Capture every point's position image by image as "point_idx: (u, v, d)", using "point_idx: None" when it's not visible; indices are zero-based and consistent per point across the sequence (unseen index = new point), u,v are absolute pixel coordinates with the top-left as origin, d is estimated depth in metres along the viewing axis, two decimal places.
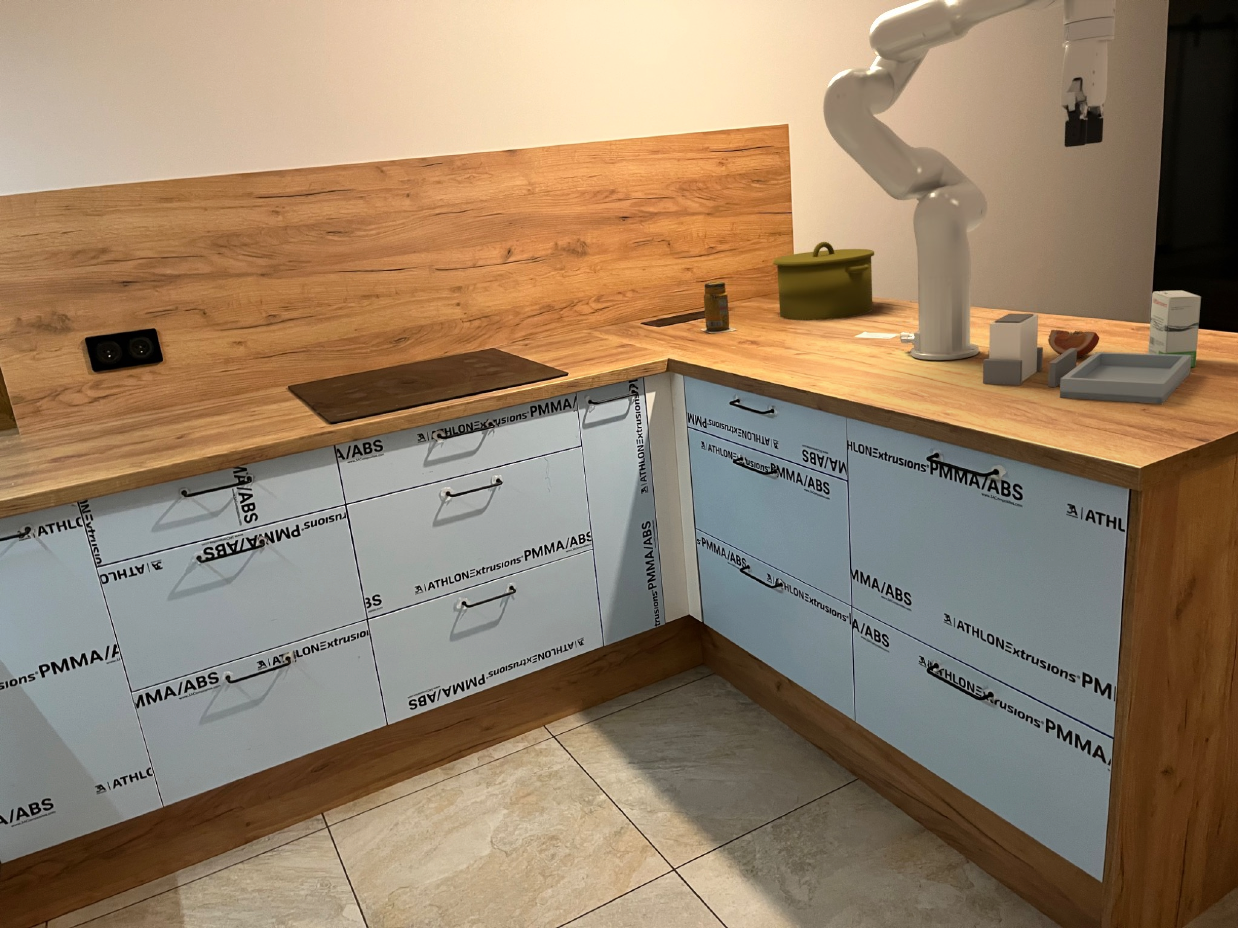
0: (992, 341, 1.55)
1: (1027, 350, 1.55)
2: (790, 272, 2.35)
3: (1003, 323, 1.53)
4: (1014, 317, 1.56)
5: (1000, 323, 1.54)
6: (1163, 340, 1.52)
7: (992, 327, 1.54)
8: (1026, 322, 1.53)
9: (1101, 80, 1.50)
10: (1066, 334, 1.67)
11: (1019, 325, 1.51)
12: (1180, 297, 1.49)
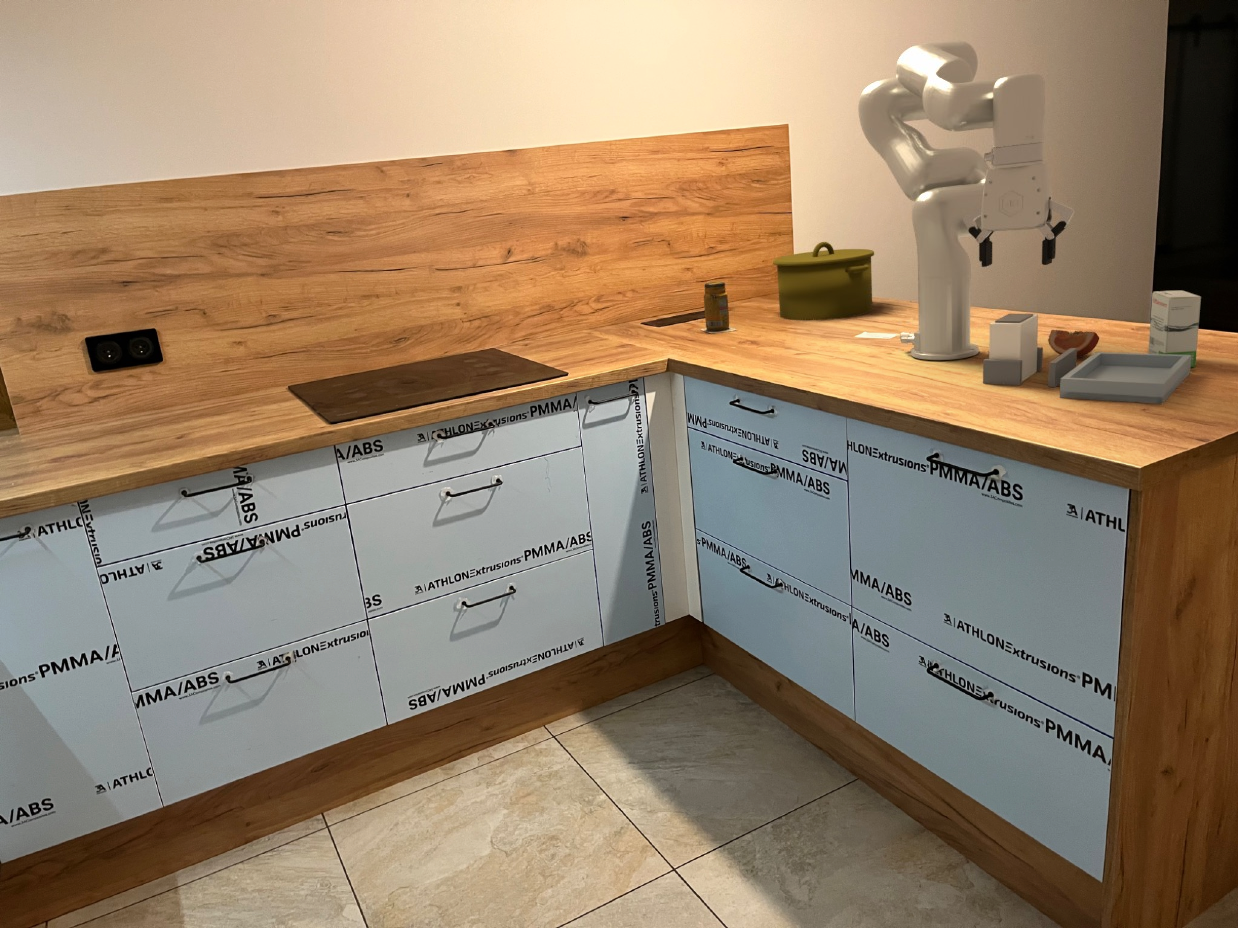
0: (992, 341, 1.55)
1: (1027, 350, 1.55)
2: (790, 272, 2.35)
3: (1003, 323, 1.53)
4: (1014, 317, 1.56)
5: (1000, 323, 1.54)
6: (1163, 340, 1.52)
7: (992, 327, 1.54)
8: (1026, 322, 1.53)
9: None
10: (1066, 334, 1.67)
11: (1019, 325, 1.51)
12: (1180, 297, 1.49)
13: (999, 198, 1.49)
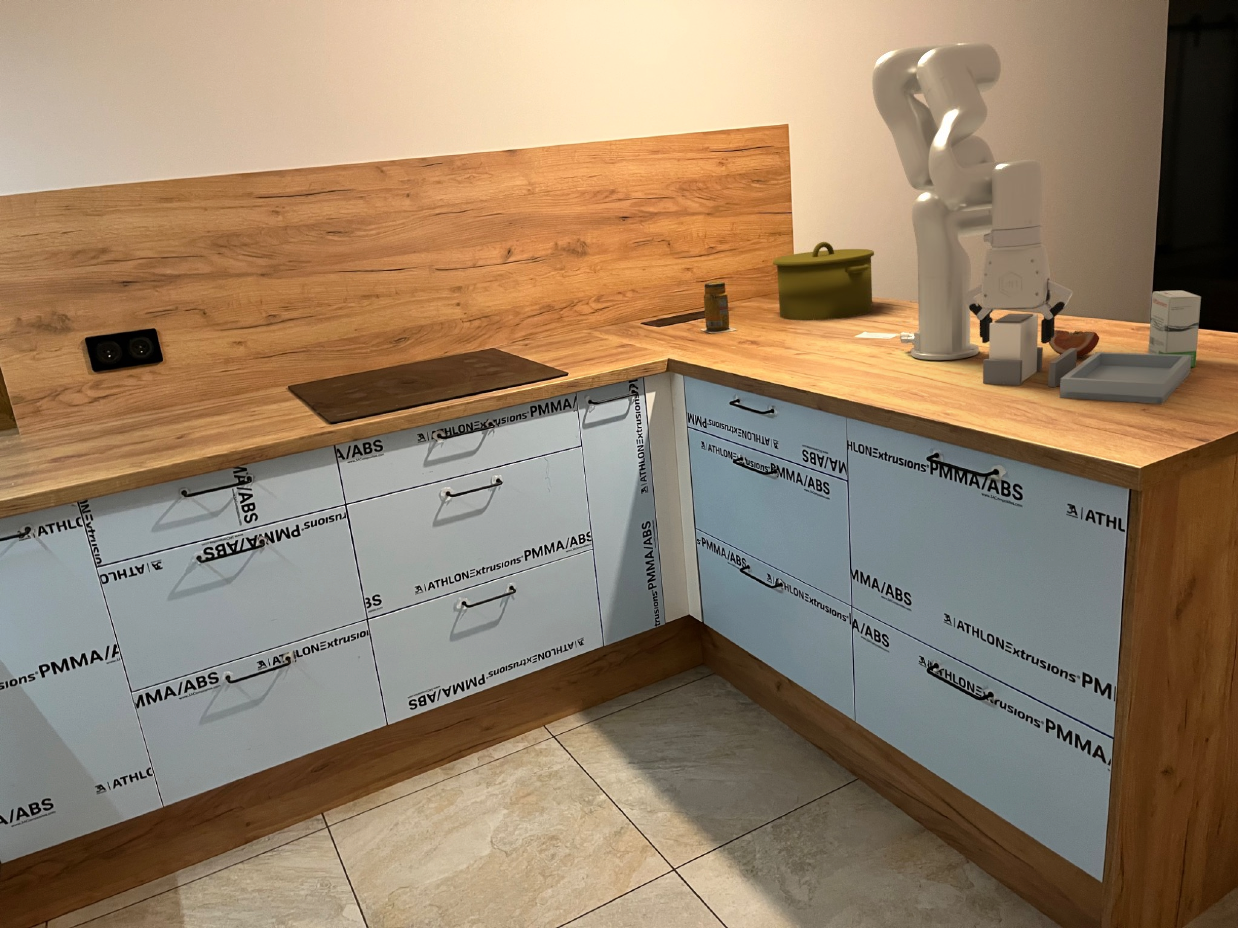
0: (992, 341, 1.55)
1: (1027, 350, 1.55)
2: (790, 272, 2.35)
3: (1003, 323, 1.53)
4: (1014, 317, 1.56)
5: (1000, 323, 1.54)
6: (1163, 340, 1.52)
7: (992, 327, 1.54)
8: (1026, 322, 1.53)
9: None
10: (1066, 334, 1.67)
11: (1019, 325, 1.51)
12: (1180, 297, 1.49)
13: (999, 278, 1.53)
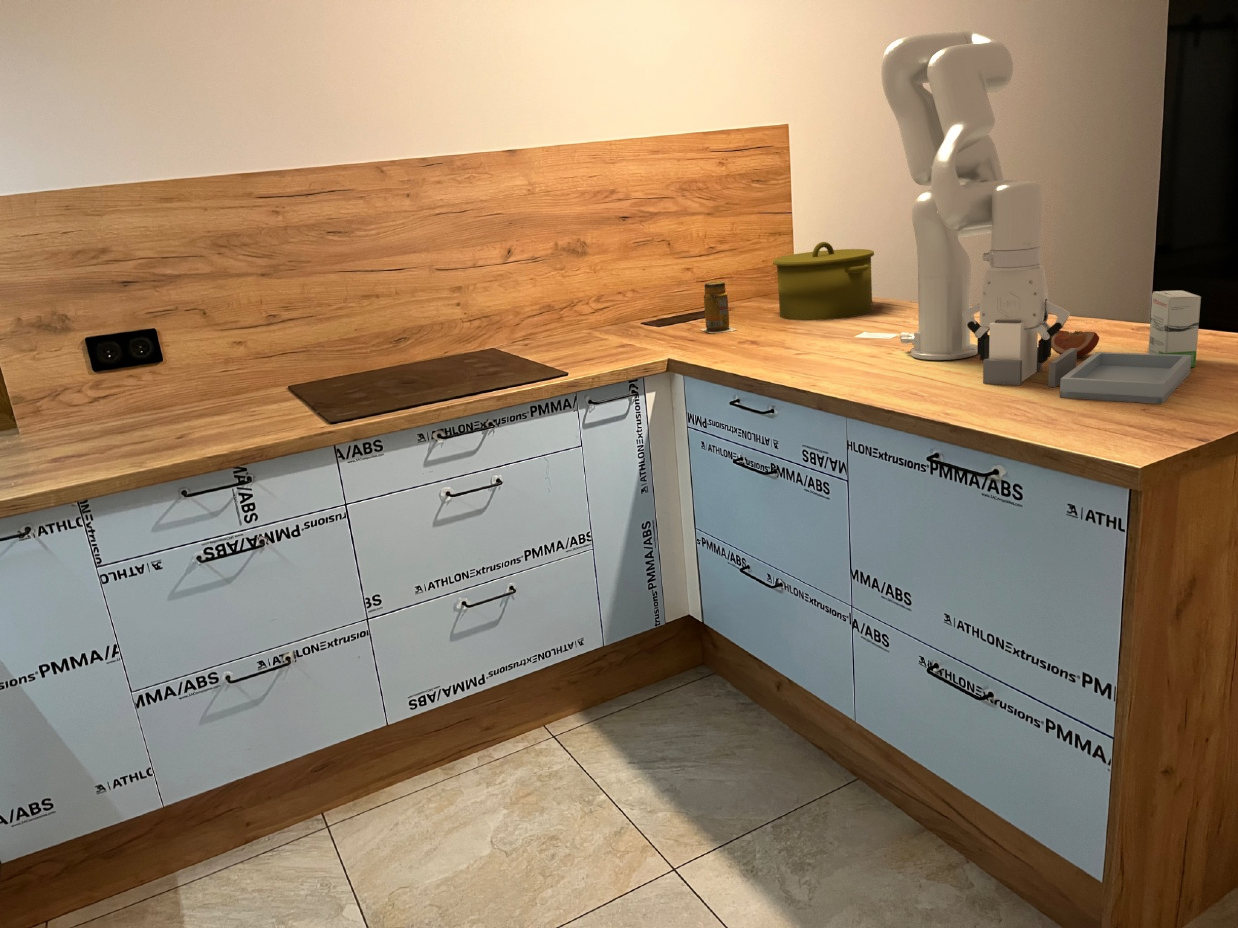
0: (992, 341, 1.55)
1: (1027, 350, 1.55)
2: (790, 272, 2.35)
3: (1003, 323, 1.53)
4: None
5: (1000, 323, 1.54)
6: (1163, 340, 1.52)
7: (992, 327, 1.54)
8: None
9: None
10: (1066, 334, 1.67)
11: (1019, 325, 1.51)
12: (1180, 297, 1.49)
13: (997, 298, 1.54)
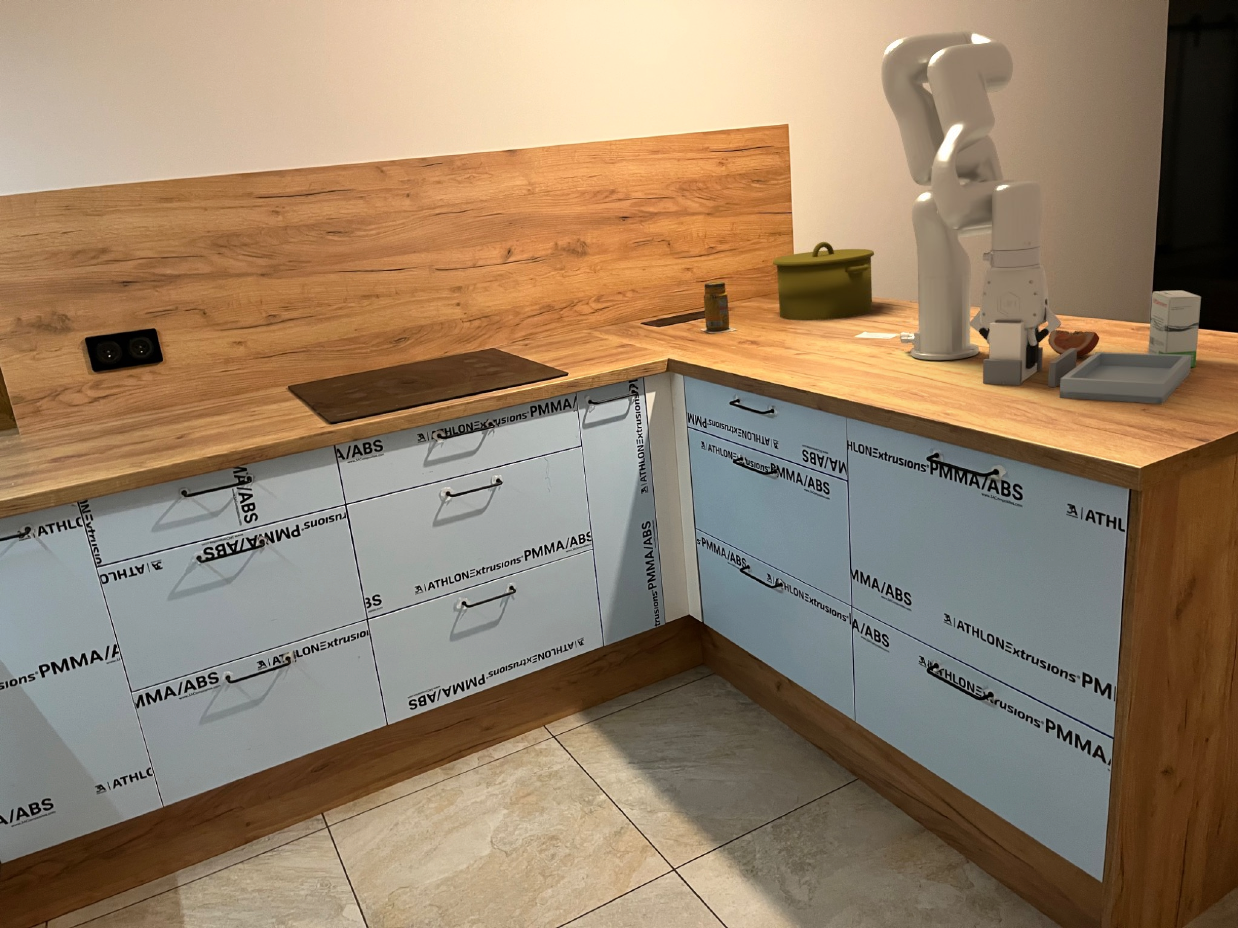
0: (992, 341, 1.55)
1: None
2: (790, 272, 2.35)
3: (1003, 323, 1.53)
4: None
5: (1000, 323, 1.53)
6: (1163, 340, 1.52)
7: (992, 327, 1.54)
8: None
9: None
10: (1066, 334, 1.67)
11: (1019, 325, 1.51)
12: (1180, 297, 1.49)
13: (997, 298, 1.54)
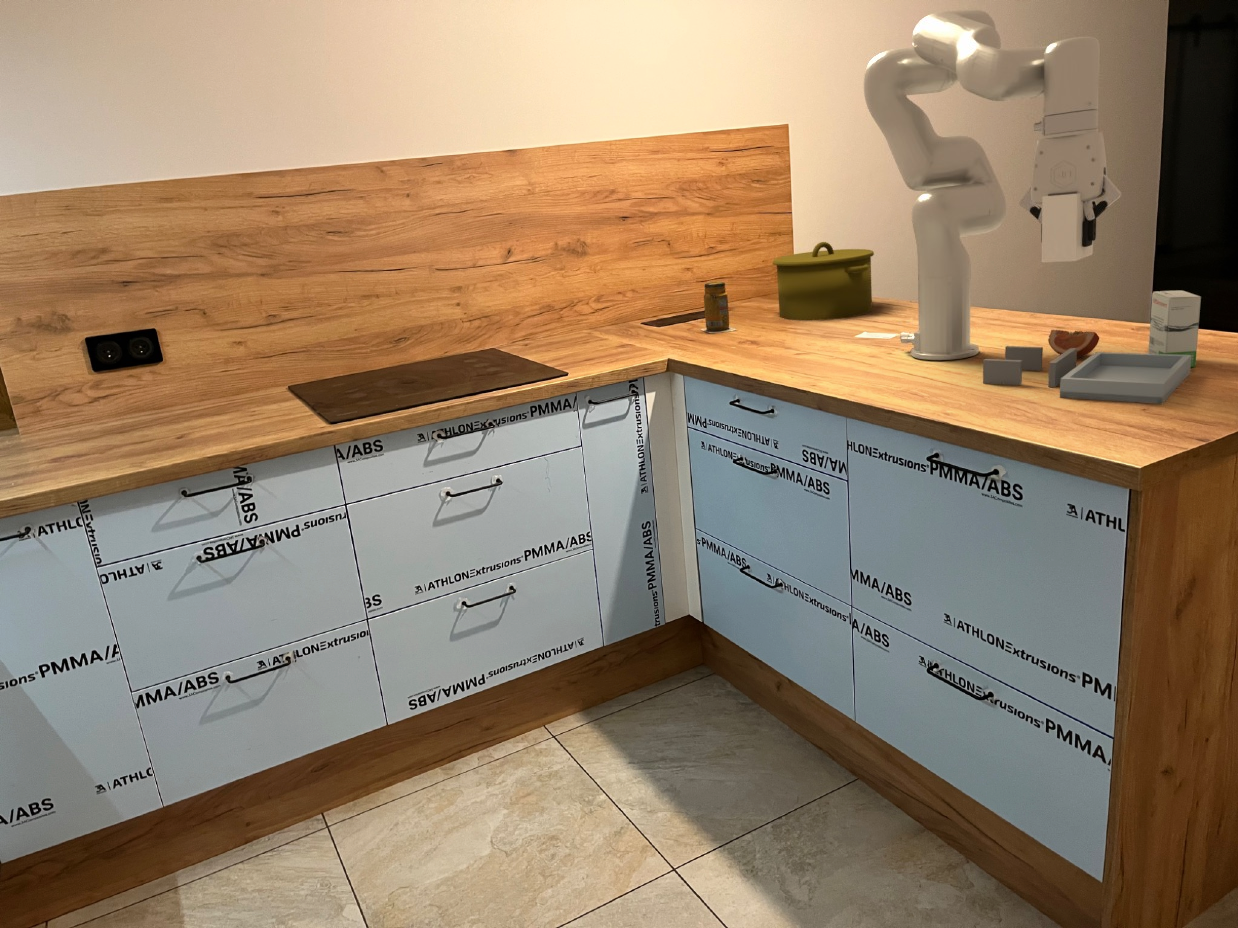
0: (1045, 216, 1.43)
1: None
2: (789, 272, 2.35)
3: (1057, 195, 1.41)
4: None
5: (1054, 195, 1.42)
6: (1163, 340, 1.52)
7: (1045, 200, 1.42)
8: None
9: None
10: (1066, 334, 1.67)
11: (1075, 195, 1.39)
12: (1180, 297, 1.49)
13: (1050, 169, 1.42)
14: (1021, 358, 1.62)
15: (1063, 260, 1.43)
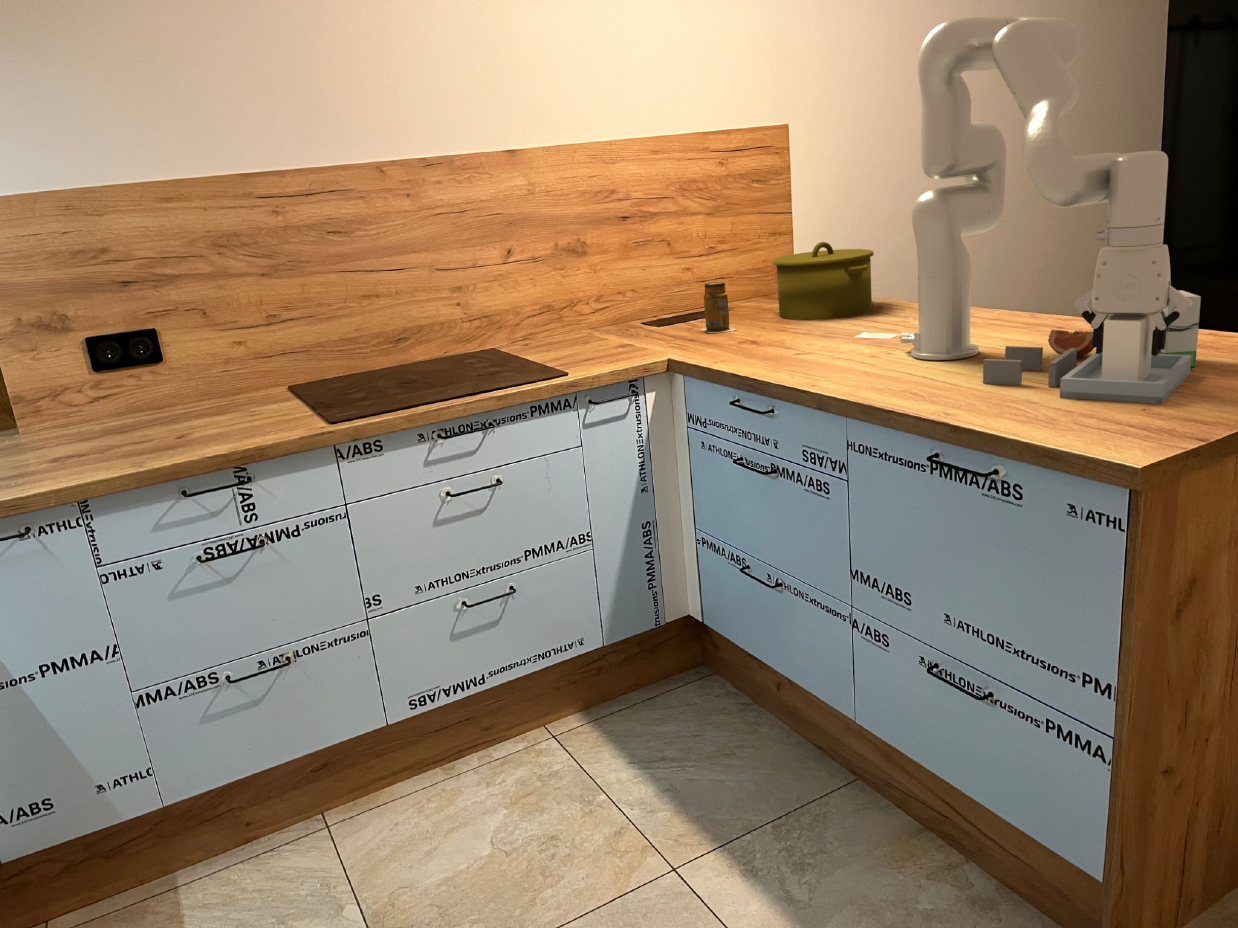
0: (1106, 340, 1.41)
1: (1144, 350, 1.42)
2: (789, 272, 2.35)
3: (1120, 320, 1.40)
4: None
5: (1116, 320, 1.40)
6: None
7: (1107, 325, 1.41)
8: (1145, 319, 1.40)
9: None
10: (1066, 334, 1.67)
11: (1139, 323, 1.38)
12: None
13: (1113, 280, 1.40)
14: (1021, 358, 1.62)
15: None
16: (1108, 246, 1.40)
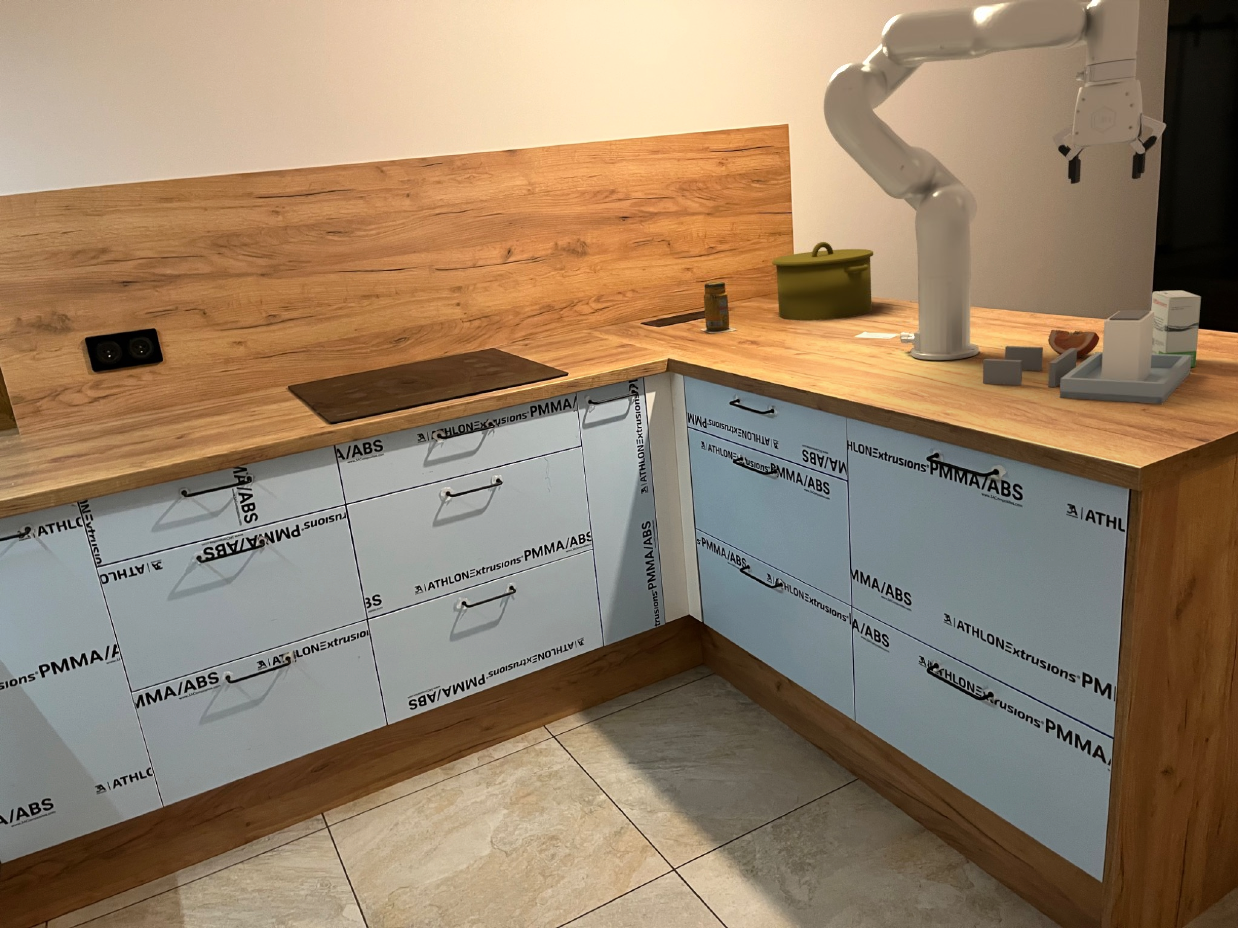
0: (1106, 340, 1.41)
1: (1144, 350, 1.42)
2: (789, 272, 2.35)
3: (1120, 320, 1.40)
4: (1130, 314, 1.42)
5: (1116, 320, 1.40)
6: (1163, 340, 1.52)
7: (1107, 325, 1.41)
8: (1145, 319, 1.40)
9: None
10: (1066, 334, 1.67)
11: (1139, 323, 1.38)
12: (1180, 297, 1.49)
13: (1091, 115, 1.55)
14: (1021, 358, 1.62)
15: None
16: (1086, 83, 1.55)
